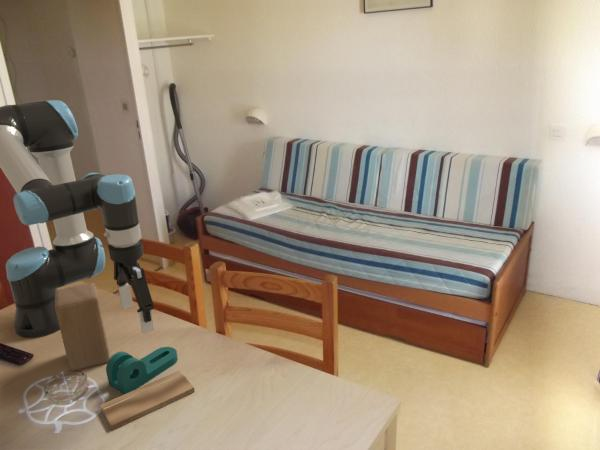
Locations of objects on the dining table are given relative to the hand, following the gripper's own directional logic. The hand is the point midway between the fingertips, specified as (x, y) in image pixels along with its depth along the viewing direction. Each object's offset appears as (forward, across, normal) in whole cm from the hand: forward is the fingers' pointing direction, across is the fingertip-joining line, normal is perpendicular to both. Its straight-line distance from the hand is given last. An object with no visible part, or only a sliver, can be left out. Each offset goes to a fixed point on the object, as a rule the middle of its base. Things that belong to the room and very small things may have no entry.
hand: (137, 319), depth 128 cm
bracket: (+16, +1, 0) cm, 16 cm away
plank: (+15, +12, -4) cm, 20 cm away
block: (+16, -15, -10) cm, 24 cm away
